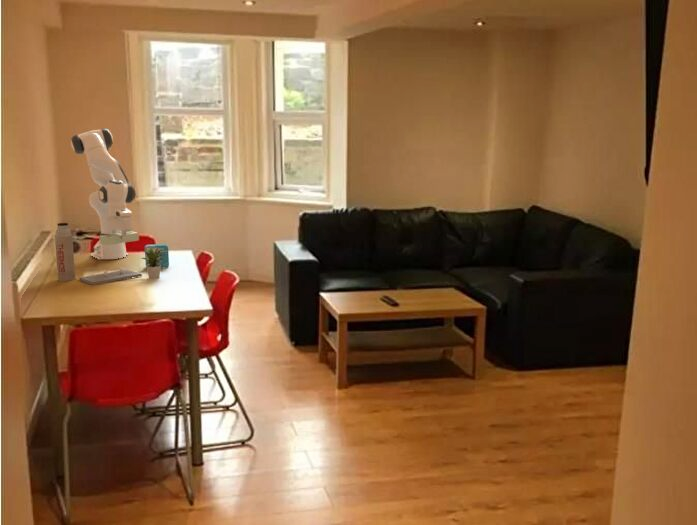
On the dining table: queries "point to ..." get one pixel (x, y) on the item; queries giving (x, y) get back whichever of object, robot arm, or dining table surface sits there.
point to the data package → (166, 256)
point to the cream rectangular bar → (118, 238)
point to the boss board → (109, 276)
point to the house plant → (153, 263)
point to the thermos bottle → (64, 253)
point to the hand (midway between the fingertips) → (119, 238)
